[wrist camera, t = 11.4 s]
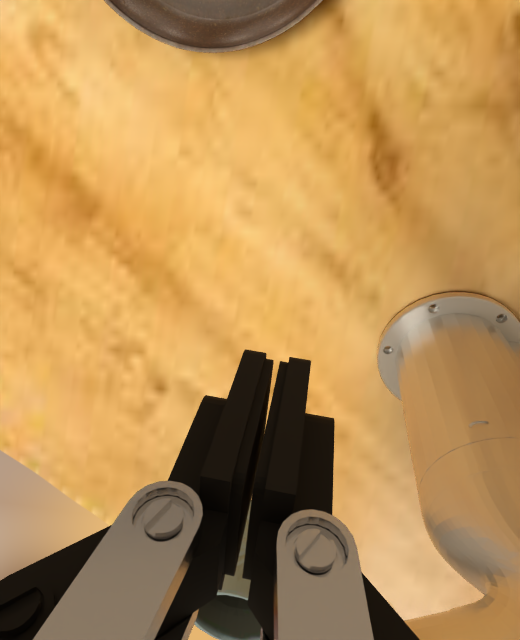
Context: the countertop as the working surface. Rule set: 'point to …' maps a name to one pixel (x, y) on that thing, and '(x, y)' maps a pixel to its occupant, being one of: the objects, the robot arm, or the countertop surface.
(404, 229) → the countertop surface
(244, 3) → the plant saucer
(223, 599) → the grey green tapered pot
